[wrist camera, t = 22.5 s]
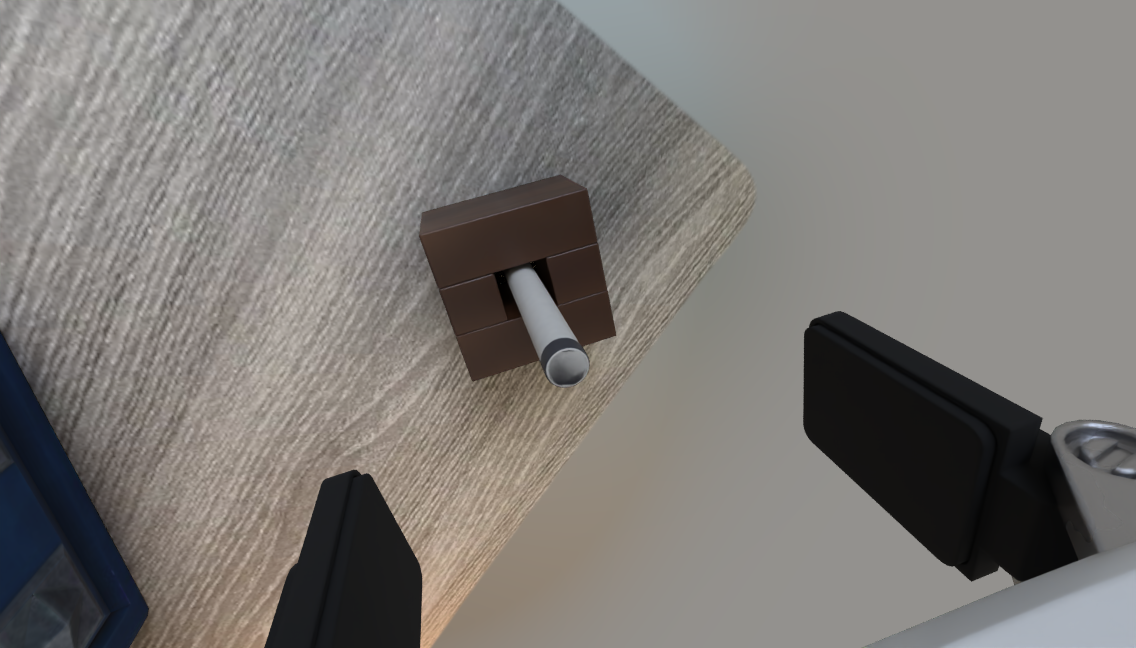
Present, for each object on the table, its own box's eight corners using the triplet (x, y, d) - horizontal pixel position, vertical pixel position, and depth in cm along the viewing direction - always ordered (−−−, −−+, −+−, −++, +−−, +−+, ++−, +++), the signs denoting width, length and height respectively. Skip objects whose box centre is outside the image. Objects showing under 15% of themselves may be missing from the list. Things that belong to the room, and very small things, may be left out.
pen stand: (421, 212, 25) (418, 235, 20) (561, 174, 26) (587, 188, 21) (466, 338, 28) (472, 382, 24) (588, 300, 29) (616, 335, 24)
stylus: (494, 246, 26) (540, 355, 15) (520, 239, 26) (585, 341, 15) (501, 271, 27) (550, 394, 15) (526, 264, 27) (594, 380, 16)
